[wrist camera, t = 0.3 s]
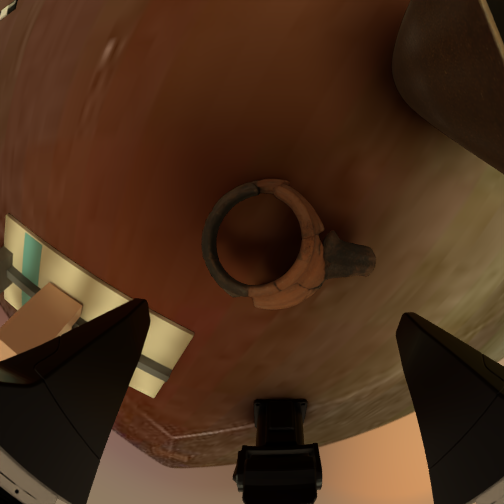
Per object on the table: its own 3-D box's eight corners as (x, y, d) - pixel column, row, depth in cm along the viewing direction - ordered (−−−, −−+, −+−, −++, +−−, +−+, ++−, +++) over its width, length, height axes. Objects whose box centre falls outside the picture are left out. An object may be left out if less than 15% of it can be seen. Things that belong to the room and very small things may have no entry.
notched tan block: (82, 305, 26) (32, 366, 17) (76, 338, 28) (36, 395, 19) (49, 282, 25) (-6, 333, 16) (46, 316, 28) (1, 367, 18)
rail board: (194, 332, 27) (178, 380, 21) (155, 395, 33) (141, 433, 27) (8, 213, 23) (-30, 233, 17) (6, 296, 28) (-20, 321, 22)
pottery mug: (234, 298, 26) (187, 309, 18) (238, 196, 27) (194, 169, 19) (368, 306, 22) (379, 324, 14) (370, 194, 23) (379, 160, 15)
